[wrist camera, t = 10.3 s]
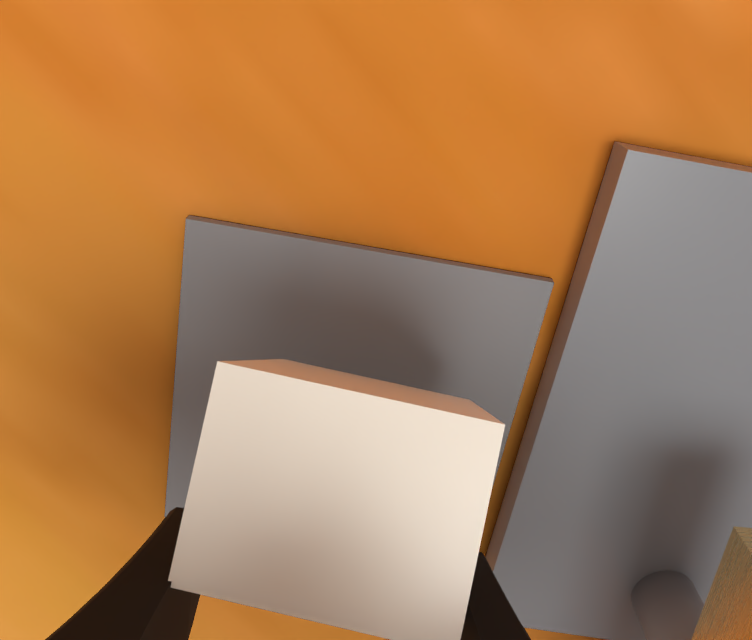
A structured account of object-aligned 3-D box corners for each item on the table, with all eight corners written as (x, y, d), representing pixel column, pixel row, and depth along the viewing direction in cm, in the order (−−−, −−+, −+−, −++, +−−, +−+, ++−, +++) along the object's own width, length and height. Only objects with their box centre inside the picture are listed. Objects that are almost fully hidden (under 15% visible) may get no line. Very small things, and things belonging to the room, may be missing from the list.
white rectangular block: (505, 424, 11) (457, 654, 11) (469, 399, 17) (438, 547, 17) (216, 361, 11) (166, 586, 11) (283, 359, 17) (251, 504, 17)
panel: (1020, 217, 17) (1229, 288, 13) (781, 640, 23) (872, 786, 18) (614, 141, 16) (693, 190, 12) (473, 594, 22) (493, 734, 18)
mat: (551, 278, 18) (553, 282, 18) (468, 555, 21) (470, 562, 21) (189, 214, 17) (186, 218, 17) (167, 510, 21) (164, 517, 21)
